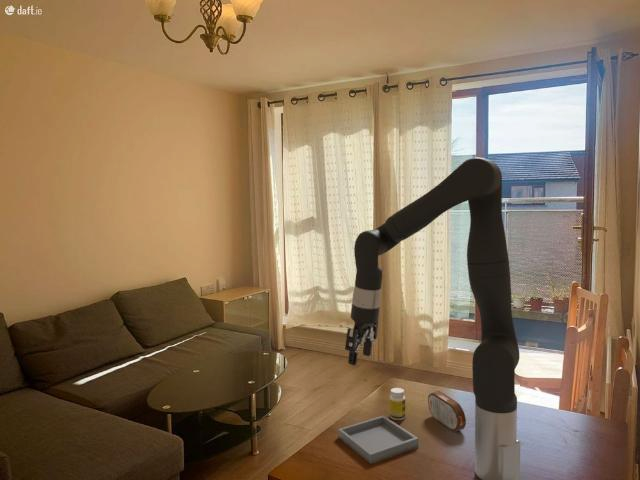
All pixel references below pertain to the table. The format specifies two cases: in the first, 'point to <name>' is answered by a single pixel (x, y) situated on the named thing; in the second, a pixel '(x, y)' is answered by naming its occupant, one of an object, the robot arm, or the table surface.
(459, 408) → the tin
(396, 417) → the supplement bottle
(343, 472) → the table surface
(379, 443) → the tray
